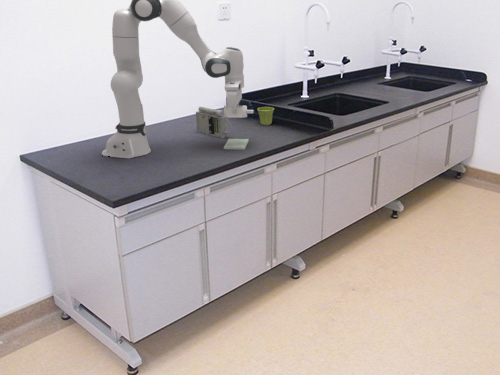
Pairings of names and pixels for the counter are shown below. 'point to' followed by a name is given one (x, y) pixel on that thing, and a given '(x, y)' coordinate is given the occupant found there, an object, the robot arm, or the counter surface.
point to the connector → (240, 110)
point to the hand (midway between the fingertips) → (235, 112)
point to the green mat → (236, 144)
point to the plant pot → (265, 115)
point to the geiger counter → (211, 122)
